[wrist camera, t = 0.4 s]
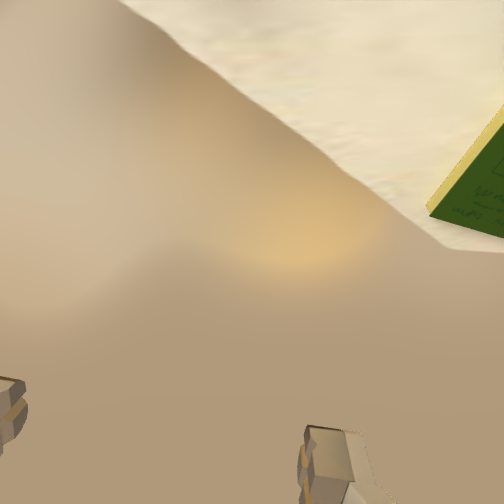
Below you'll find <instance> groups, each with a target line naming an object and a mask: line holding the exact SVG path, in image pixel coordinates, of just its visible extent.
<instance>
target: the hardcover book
mask: <svg viewBox="0 0 504 504" xmlns="http://www.w3.org/2000/svg"><path fill="white" fill-rule="evenodd" d="M426 206H427V208H428V210H429V212H430V213H431V214H430V215H429V216H430V217H433V218H436V219H440V220H443V221H447V222H450V223H453V224H457V225H460V226H463V227H467V228H470V229H474V230H477V231H480V232H484V233H487V234H491V235H494V236H497V237H501V238H504V105H503V106H502V108H501V109H500V110H499V111H498V113H497V114H496V115H495V117H494V118H493V119H492V120H491V122H490V123H489V124H488V126H487V127H486V128H485V129H484V131H483V132H482V133H481V135H480V136H479V137H478V138H477V140H476V141H475V142H474V144H473V145H472V146H471V147H470V149H469V150H468V151H467V153H466V154H465V155H464V156H463V158H462V159H461V160H460V162H459V163H458V164H457V165H456V167H455V168H454V169H453V171H452V172H451V173H450V174H449V176H448V177H447V178H446V180H445V181H444V182H443V183H442V185H441V186H440V187H439V188H438V190H437V191H436V192H435V194H434V195H433V196H432V197H431V199H430V200H429V201H428V203H427V204H426Z"/></svg>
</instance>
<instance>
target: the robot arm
mask: <svg viewBox="0 0 504 504" xmlns="http://www.w3.org/2000/svg"><path fill="white" fill-rule="evenodd" d="M25 392H26V386H25V382H24V381H22V380H19V379H13V378H7V377H3V376H0V456H1V455H2V454H3V445H4V444H6V443H7V442H9V441H11V440H13V439H15V437H16V436H17V435H18V434H19V432H20V431H21V430H22V427H23V425H24V423H25V421H26V419H27V413H28V404H27V402H26V401H25V400H24V399H23V397H22V395H23V394H24V393H25ZM304 443H305V444H303V445H302V446H301V447H300V452H299V457H298V466H297V469H298V470H297V473H298V474H297V475H298V484H299V486H300V487H301V488H302V490H301V493H300V497H299V504H397V503H396V502H395V501H394V500H393V499H392V498H391V497H390V495H388V493H386V491H385V490H384V489H383V488H382V487H380V486H376V483H375V479H374V476H373V472H372V468H371V465H370V461H369V458H368V454H367V451H366V447H365V444H364V440H363V437H362V435H361V433H360V432H355V431H348V430H341V429H334V428H327V427H321V426H314V425H307V426H306V429H305V432H304Z"/></svg>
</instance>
